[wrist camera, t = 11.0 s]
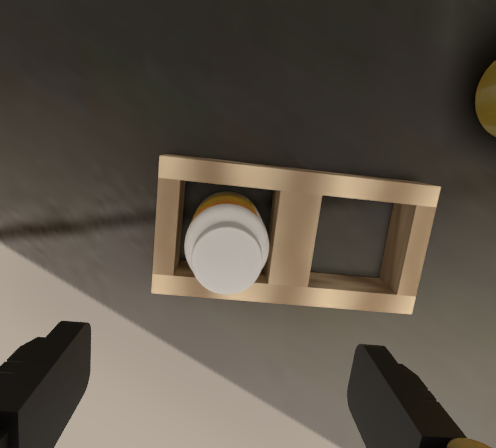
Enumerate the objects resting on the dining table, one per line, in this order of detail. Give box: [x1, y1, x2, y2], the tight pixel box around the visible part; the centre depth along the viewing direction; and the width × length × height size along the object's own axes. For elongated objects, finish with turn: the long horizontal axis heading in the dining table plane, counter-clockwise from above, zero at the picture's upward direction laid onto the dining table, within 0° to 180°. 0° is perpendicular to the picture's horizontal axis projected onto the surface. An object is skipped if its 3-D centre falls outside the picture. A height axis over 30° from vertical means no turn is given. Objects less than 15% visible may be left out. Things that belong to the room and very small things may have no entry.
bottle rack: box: [151, 154, 441, 314], centre depth 28 cm, size 20×10×4 cm, turn 84°
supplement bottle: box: [184, 191, 269, 295], centre depth 25 cm, size 5×5×10 cm
